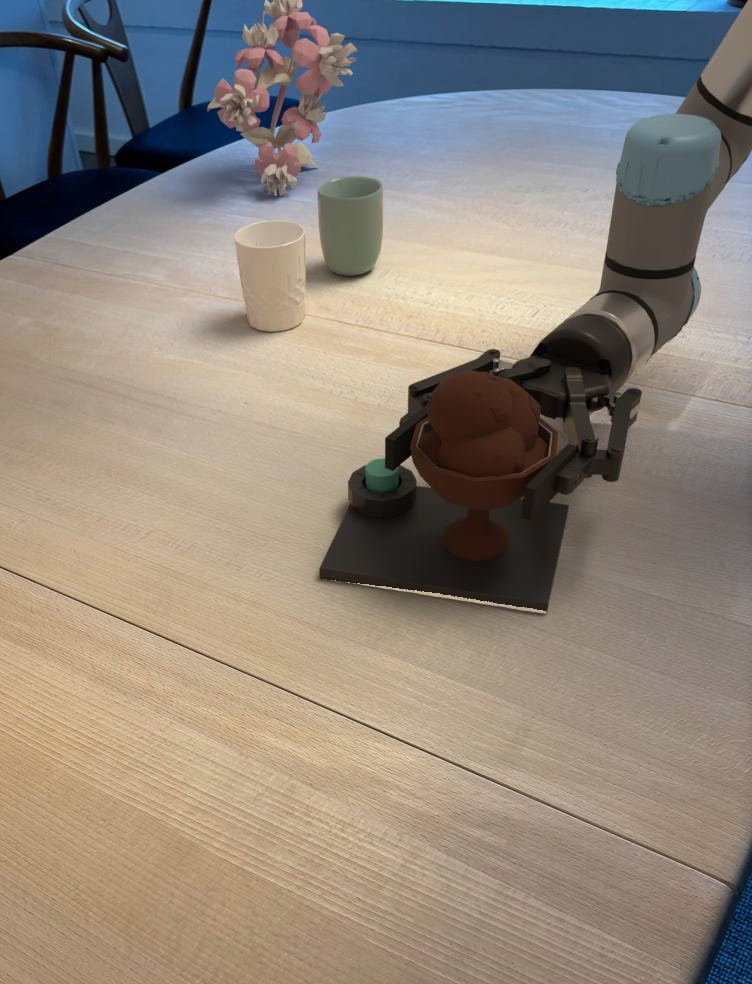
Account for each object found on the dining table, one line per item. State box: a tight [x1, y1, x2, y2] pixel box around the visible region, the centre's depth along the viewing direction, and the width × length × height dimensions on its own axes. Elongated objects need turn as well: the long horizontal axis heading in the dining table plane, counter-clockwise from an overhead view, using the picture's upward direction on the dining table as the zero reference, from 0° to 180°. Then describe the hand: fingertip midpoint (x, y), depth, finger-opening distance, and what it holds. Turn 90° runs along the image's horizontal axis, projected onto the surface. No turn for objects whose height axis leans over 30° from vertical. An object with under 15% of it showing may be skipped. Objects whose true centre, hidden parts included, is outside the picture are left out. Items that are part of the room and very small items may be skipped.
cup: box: [317, 175, 384, 277], centre depth 120 cm, size 8×8×10 cm
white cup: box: [233, 219, 307, 333], centre depth 111 cm, size 8×8×10 cm
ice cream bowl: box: [410, 370, 559, 561], centre depth 75 cm, size 11×11×15 cm
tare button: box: [365, 458, 399, 493], centre depth 83 cm, size 3×3×2 cm
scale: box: [319, 464, 570, 612], centre depth 80 cm, size 18×13×3 cm
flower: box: [206, 0, 358, 197], centre depth 144 cm, size 20×22×25 cm
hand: (455, 478), depth 72 cm, fingers closed on ice cream bowl, 11 cm apart
